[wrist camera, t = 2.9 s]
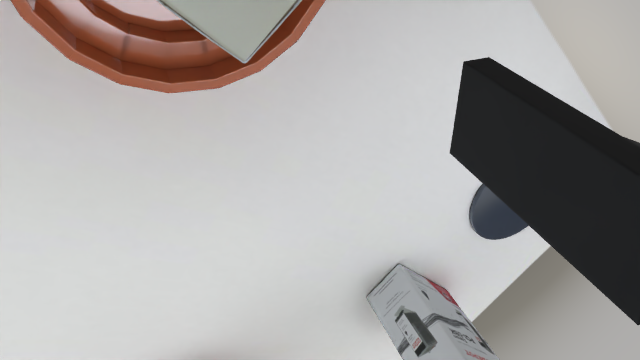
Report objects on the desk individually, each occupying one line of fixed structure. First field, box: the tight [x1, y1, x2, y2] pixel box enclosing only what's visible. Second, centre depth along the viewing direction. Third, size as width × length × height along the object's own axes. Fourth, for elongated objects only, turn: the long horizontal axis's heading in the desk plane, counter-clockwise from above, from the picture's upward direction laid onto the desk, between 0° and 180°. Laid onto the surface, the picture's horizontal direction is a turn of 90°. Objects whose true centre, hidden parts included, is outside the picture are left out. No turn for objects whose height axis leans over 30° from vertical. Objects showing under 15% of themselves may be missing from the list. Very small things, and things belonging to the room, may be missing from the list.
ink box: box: [367, 264, 500, 360], centre depth 48 cm, size 9×5×12 cm, turn 47°
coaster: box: [470, 184, 528, 240], centre depth 50 cm, size 9×9×1 cm
